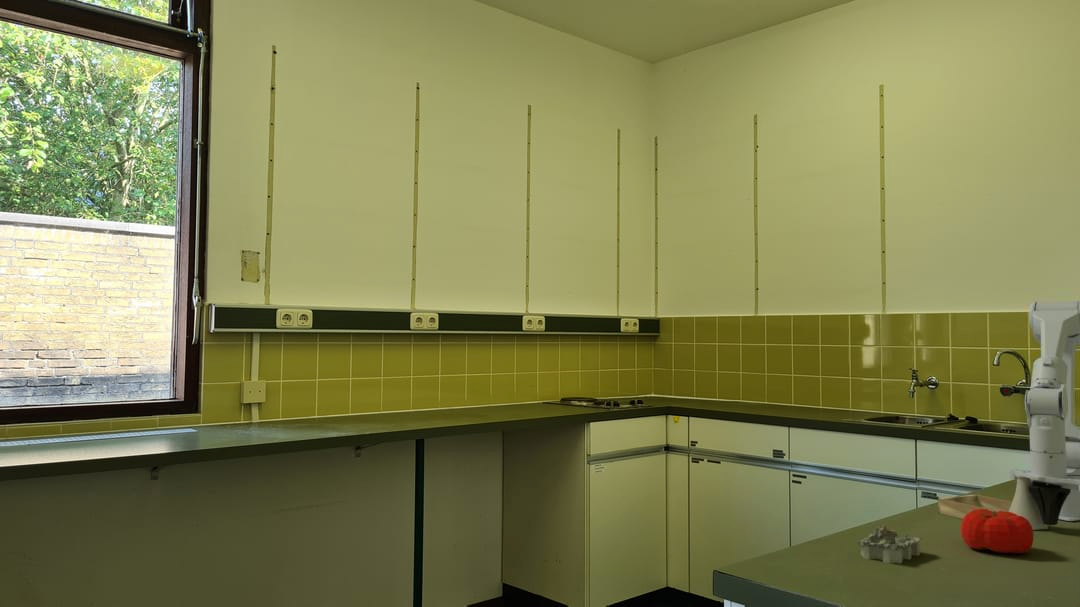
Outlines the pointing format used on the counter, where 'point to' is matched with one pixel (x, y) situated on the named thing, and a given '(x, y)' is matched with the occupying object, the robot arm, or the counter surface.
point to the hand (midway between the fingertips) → (1050, 524)
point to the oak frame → (970, 505)
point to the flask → (1026, 504)
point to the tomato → (997, 531)
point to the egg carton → (888, 546)
